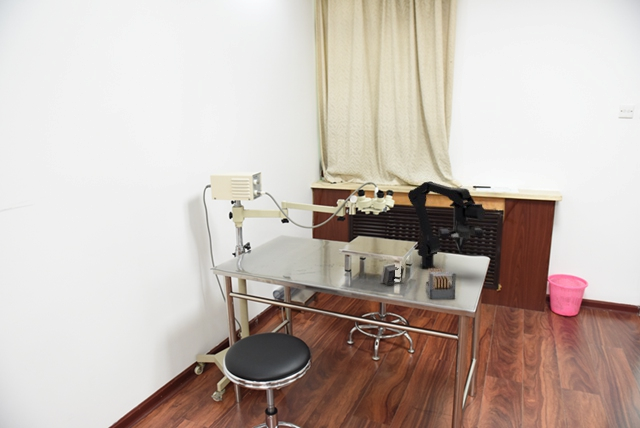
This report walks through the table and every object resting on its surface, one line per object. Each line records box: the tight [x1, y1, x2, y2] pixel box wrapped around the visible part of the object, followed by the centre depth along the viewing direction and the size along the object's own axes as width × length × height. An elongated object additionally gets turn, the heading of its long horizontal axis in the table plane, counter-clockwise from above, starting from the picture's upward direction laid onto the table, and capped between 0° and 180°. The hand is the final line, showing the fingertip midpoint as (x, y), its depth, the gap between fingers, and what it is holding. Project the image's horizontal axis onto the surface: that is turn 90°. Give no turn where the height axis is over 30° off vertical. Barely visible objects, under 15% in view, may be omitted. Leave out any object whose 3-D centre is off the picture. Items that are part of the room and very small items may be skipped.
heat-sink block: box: [427, 267, 450, 289], centre depth 170 cm, size 14×6×8 cm, turn 176°
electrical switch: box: [380, 262, 405, 286], centre depth 180 cm, size 9×5×9 cm, turn 113°
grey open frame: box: [425, 271, 457, 300], centre depth 165 cm, size 9×10×10 cm
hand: (460, 251), depth 183 cm, fingers closed
